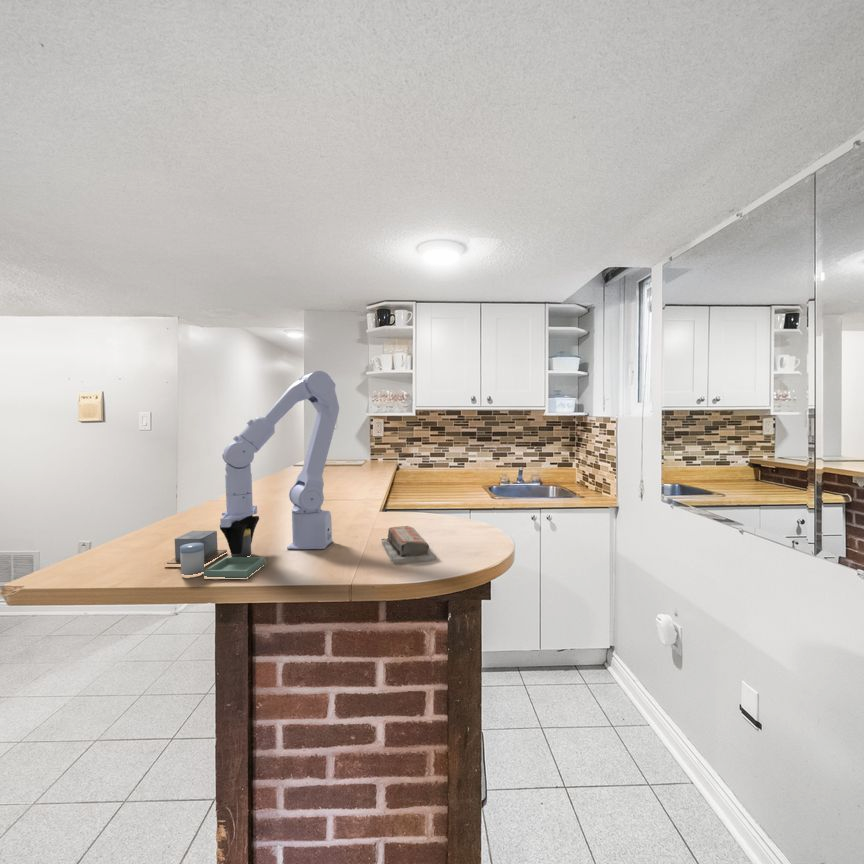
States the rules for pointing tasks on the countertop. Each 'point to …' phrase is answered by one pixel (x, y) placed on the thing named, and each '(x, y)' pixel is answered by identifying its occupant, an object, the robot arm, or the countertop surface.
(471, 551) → the countertop surface
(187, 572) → the blue part
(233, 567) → the parts tray
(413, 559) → the packaged product
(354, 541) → the countertop surface
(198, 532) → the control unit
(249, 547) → the amber part
